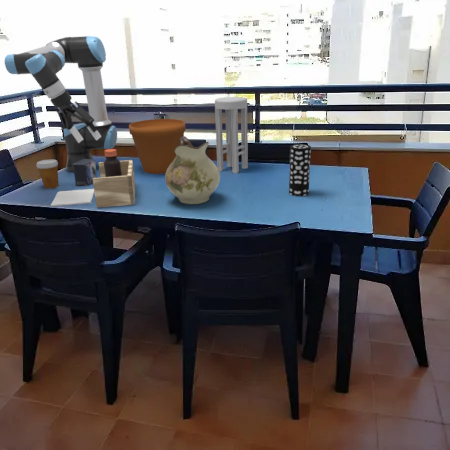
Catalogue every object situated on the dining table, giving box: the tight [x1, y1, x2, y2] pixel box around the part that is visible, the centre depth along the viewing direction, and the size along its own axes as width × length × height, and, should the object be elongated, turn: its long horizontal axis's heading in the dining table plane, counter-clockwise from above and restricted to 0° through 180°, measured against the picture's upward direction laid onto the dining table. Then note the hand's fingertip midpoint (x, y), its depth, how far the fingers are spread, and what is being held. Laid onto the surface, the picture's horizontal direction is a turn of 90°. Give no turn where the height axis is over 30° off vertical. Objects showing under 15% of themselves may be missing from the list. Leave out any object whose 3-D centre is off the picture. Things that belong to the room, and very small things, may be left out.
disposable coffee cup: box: [36, 159, 60, 189], centre depth 203 cm, size 10×10×12 cm
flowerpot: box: [128, 118, 186, 175], centre depth 224 cm, size 28×28×24 cm
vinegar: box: [103, 148, 122, 177], centre depth 186 cm, size 7×7×20 cm
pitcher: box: [164, 136, 221, 205], centre depth 178 cm, size 22×24×25 cm
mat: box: [50, 188, 95, 207], centre depth 189 cm, size 18×16×1 cm
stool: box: [214, 96, 249, 174], centre depth 218 cm, size 16×16×35 cm
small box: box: [73, 158, 98, 187], centre depth 208 cm, size 11×6×10 cm, turn 168°
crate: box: [92, 159, 136, 208], centre depth 188 cm, size 27×15×12 cm, turn 10°
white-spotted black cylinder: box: [288, 143, 312, 197], centre depth 182 cm, size 8×8×20 cm
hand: (89, 139), depth 183 cm, fingers open, 13 cm apart
